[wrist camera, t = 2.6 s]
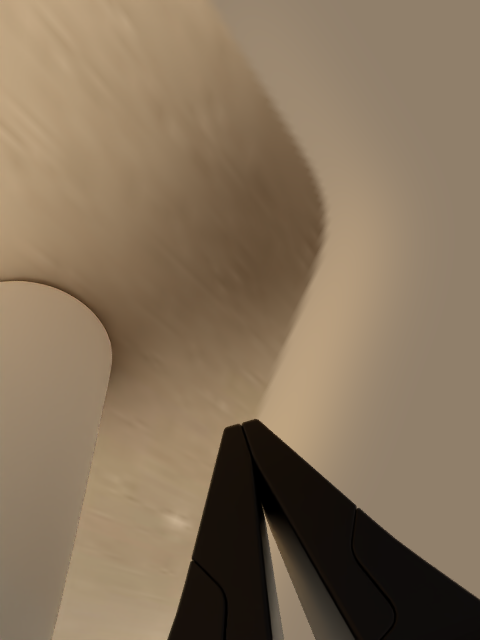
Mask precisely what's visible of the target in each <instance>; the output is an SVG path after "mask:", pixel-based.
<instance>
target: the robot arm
mask: <svg viewBox="0 0 480 640" xmlns="http://www.w3.org/2000/svg"><path fill="white" fill-rule="evenodd" d="M263 510H264V511H263ZM264 513H265V516H266V519H267V521H268V524H269V526H270V529H271V532H272V534H273V536H274V539H275V541H276V543H277V546H278V549H279V551H280V554H281V556H282V558H283V561H284V563H285V566H286V568H287V571H288V573H289V575H290V578H291V580H292V583H293V585H294V588H295V590H296V593H297V595H298V598H299V600H300V602H301V605H302V607H303V610H304V612H305V615H306V617H307V620H308V622H309V624H310V627H311V629H312V632H313V634H314V637H315V639H316V640H480V599H478V598H477V597H476V596H474V595H473V594H471V593H470V592H469V591H467V590H466V589H464V588H463V587H462V586H460V585H459V584H457V583H456V582H454V581H453V580H451V579H450V578H449V577H447V576H446V575H445V574H443V573H442V572H440V571H439V570H438V569H436V568H435V567H433V566H432V565H431V564H429V563H428V562H426V561H425V560H423V559H422V558H421V557H419V556H418V555H417V554H415V553H414V552H413V551H411V550H410V549H409V548H407V547H406V546H405V545H403V544H402V543H401V542H399V541H398V540H397V539H395V538H394V537H393V536H392V535H390V534H389V533H388V532H387V531H386V530H384V529H383V528H382V527H381V526H380V525H378V524H377V523H376V522H375V521H374V520H372V519H371V518H370V517H369V516H368V515H367V514H366V513H364V512H363V511H362V510H361V509H360V508H357V506H356V505H355V504H354V503H353V502H352V501H350V500H349V499H348V498H347V497H346V496H345V495H343V493H341V492H340V491H339V490H338V489H337V488H336V487H334V486H333V485H332V484H331V483H330V482H329V481H328V480H327V479H325V478H324V477H323V476H322V475H321V474H320V473H319V472H317V471H316V470H315V469H314V468H313V467H312V466H311V465H309V464H308V463H307V462H306V461H305V460H304V459H303V458H301V457H300V456H299V455H298V454H297V453H296V452H294V451H293V450H292V449H291V448H290V447H289V446H288V445H287V444H285V443H284V442H283V441H282V440H281V439H280V438H278V437H277V436H276V435H275V434H274V433H273V432H272V431H271V430H269V429H268V428H267V427H266V426H265V425H264V424H263V423H261V422H260V421H259V420H257V419H254V420H250V421H247V422H243V423H242V426H241V425H240V424H236V425H232V426H229V427H226V428H225V429H224V432H223V435H222V439H221V443H220V447H219V451H218V455H217V459H216V463H215V467H214V471H213V475H212V479H211V483H210V487H209V491H208V495H207V499H206V503H205V507H204V511H203V515H202V519H201V523H200V527H199V531H198V535H197V538H196V542H195V546H194V550H193V554H192V561H191V562H190V565H189V569H188V573H187V577H186V581H185V585H184V588H183V592H182V595H181V599H180V603H179V606H178V610H177V613H176V616H175V619H174V622H173V625H172V628H171V631H170V634H169V637H168V639H167V640H284V637H283V630H282V624H281V617H280V612H279V604H278V599H277V592H276V585H275V579H274V572H273V566H272V560H271V553H270V547H269V540H268V534H267V527H266V522H265V516H264Z"/></svg>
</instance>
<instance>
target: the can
mask: <svg viewBox="0 0 480 640" xmlns="http://www.w3.org/2000/svg"><path fill="white" fill-rule="evenodd" d="M111 366H112V348H111V343H110V340H109V337H108V334H107V332H106V330H105V328H104V326H103V325H102V323H101V322H100V320H99V319H98V318H97V316H96V315H95V314H94V313H93V312H92V311H91V310H90V309H89V308H88V307H87V306H86V305H84V304H83V303H82V302H80V301H79V300H77V299H76V298H74V297H73V296H71V295H69V294H67V293H65V292H63V291H61V290H59V289H56V288H53V287H50V286H47V285H44V284H39V283H34V282H26V281H5V282H0V640H51V639H52V636H53V632H54V628H55V624H56V620H57V616H58V612H59V608H60V604H61V599H62V595H63V590H64V586H65V582H66V577H67V573H68V568H69V564H70V559H71V555H72V550H73V546H74V541H75V537H76V532H77V528H78V523H79V518H80V514H81V509H82V505H83V500H84V495H85V491H86V486H87V482H88V477H89V472H90V468H91V463H92V458H93V454H94V449H95V444H96V440H97V435H98V430H99V426H100V421H101V416H102V412H103V407H104V402H105V397H106V392H107V388H108V383H109V378H110V372H111Z"/></svg>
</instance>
